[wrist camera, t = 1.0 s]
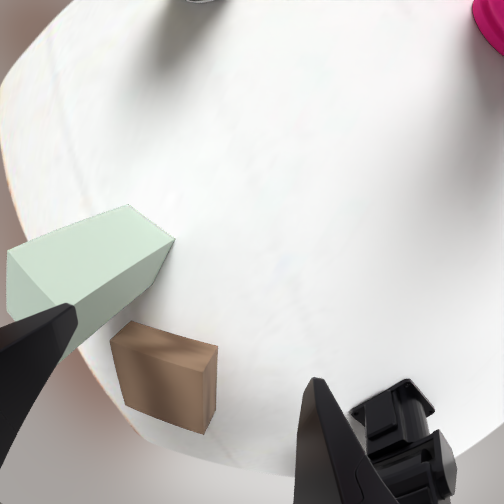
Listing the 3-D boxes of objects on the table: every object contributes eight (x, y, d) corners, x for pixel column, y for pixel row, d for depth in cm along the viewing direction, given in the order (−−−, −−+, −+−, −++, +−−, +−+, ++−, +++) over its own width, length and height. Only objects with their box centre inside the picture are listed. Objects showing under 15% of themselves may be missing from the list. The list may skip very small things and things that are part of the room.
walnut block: (219, 343, 25) (202, 372, 22) (216, 407, 28) (203, 434, 25) (132, 319, 27) (109, 340, 23) (142, 383, 30) (125, 405, 26)
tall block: (175, 238, 23) (62, 312, 11) (152, 284, 24) (56, 365, 13) (128, 204, 23) (7, 250, 12) (110, 251, 25) (6, 311, 14)
